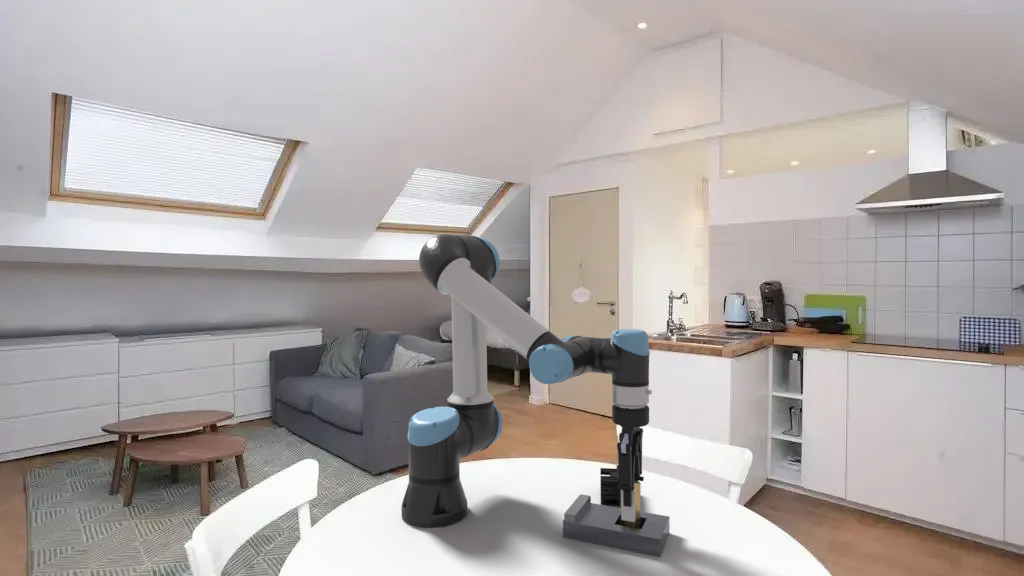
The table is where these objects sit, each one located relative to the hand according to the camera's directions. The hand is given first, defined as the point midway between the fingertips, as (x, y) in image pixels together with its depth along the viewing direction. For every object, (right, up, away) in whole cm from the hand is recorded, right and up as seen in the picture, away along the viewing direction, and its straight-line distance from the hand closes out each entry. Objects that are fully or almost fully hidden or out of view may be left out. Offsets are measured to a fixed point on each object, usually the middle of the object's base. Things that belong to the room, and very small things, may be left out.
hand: (630, 515), depth 115 cm
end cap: (+1, -4, +20) cm, 21 cm away
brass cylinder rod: (0, -3, 0) cm, 3 cm away
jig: (-3, -5, +1) cm, 5 cm away
